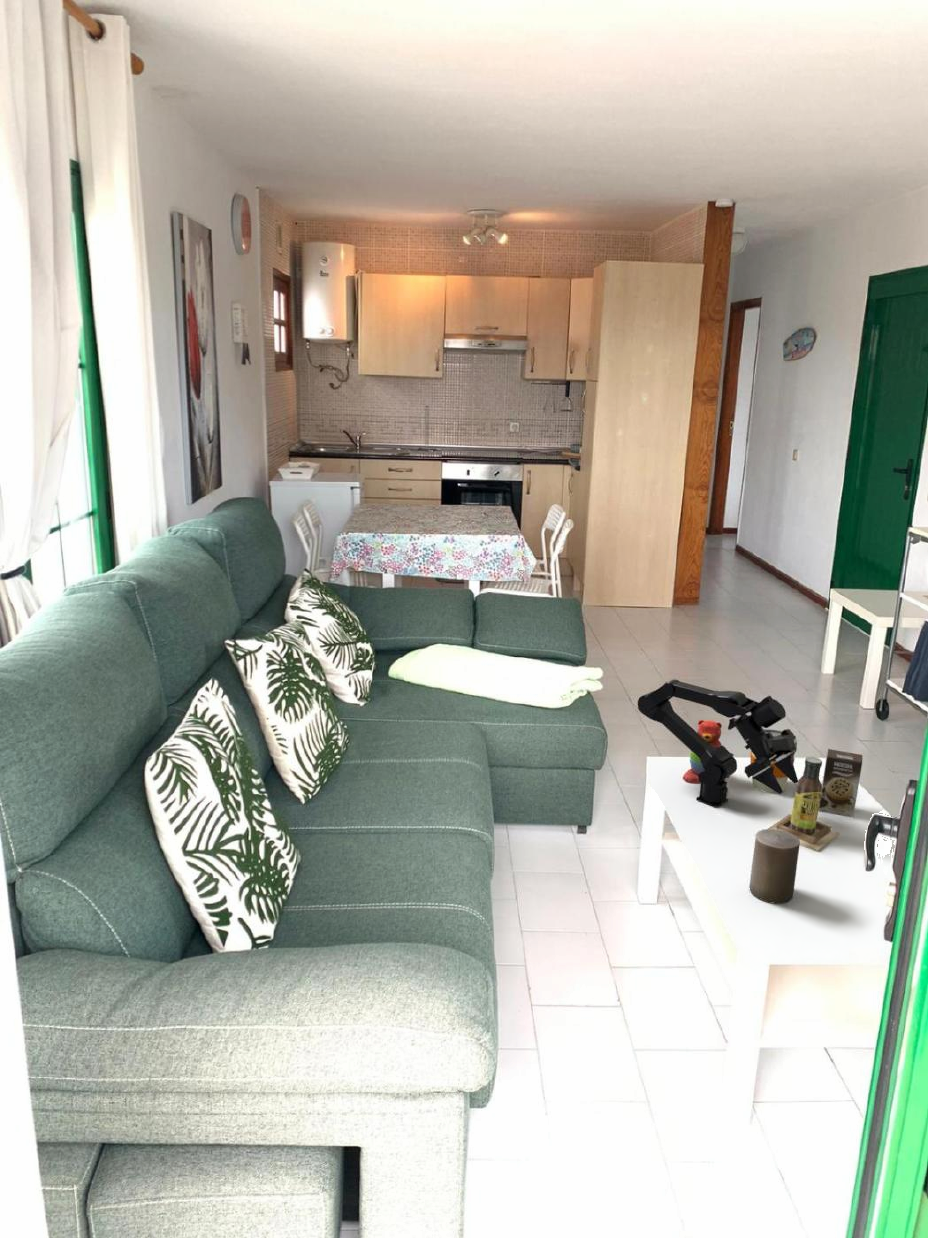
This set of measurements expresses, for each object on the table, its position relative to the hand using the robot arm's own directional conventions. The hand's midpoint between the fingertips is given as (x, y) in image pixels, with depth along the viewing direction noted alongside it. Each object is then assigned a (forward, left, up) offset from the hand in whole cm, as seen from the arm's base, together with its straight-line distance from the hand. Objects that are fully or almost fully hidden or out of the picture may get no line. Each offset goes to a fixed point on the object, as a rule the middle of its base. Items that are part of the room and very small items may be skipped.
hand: (789, 788), depth 249 cm
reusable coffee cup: (-15, +20, -11) cm, 27 cm away
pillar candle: (+13, -33, -11) cm, 37 cm away
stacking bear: (-30, +10, -11) cm, 33 cm away
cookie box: (+5, +20, -11) cm, 24 cm away
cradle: (+5, 0, -11) cm, 12 cm away
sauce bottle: (+5, 0, -11) cm, 12 cm away
